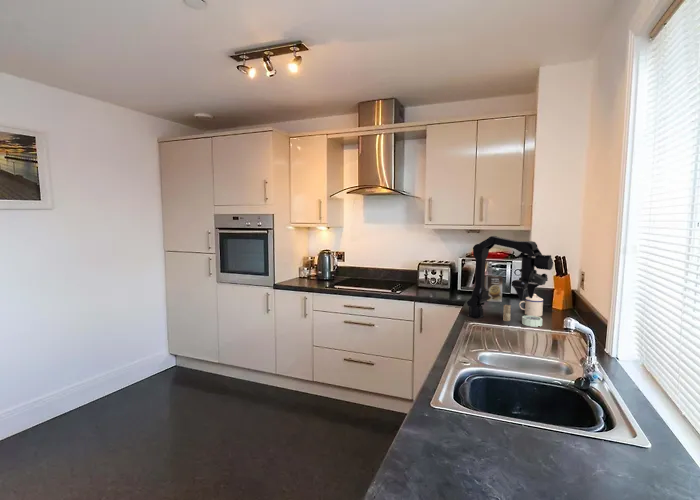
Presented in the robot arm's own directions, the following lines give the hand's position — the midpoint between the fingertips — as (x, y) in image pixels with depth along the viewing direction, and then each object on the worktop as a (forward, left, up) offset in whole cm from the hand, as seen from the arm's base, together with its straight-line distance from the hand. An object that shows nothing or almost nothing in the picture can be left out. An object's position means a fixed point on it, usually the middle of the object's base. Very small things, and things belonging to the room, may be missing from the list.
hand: (526, 299), depth 181 cm
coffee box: (-41, +42, -14) cm, 60 cm away
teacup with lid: (-10, +27, -14) cm, 32 cm away
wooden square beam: (-12, +6, -14) cm, 20 cm away
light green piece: (-1, +9, -14) cm, 17 cm away
